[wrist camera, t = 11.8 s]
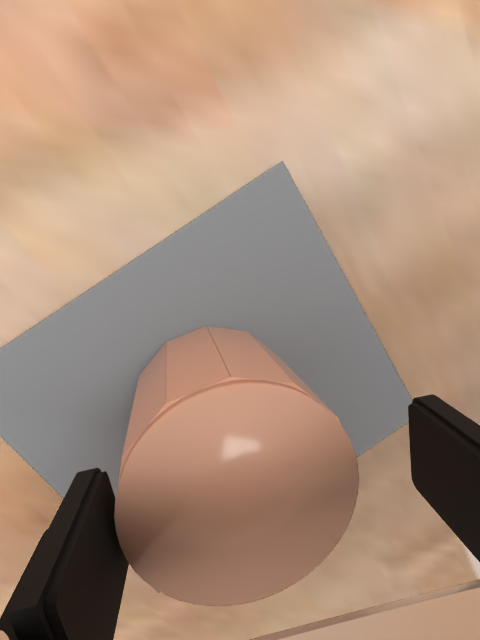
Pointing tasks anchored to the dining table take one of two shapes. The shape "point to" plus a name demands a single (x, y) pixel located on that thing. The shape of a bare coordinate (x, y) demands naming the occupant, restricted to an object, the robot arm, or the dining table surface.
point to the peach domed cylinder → (230, 472)
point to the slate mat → (189, 315)
